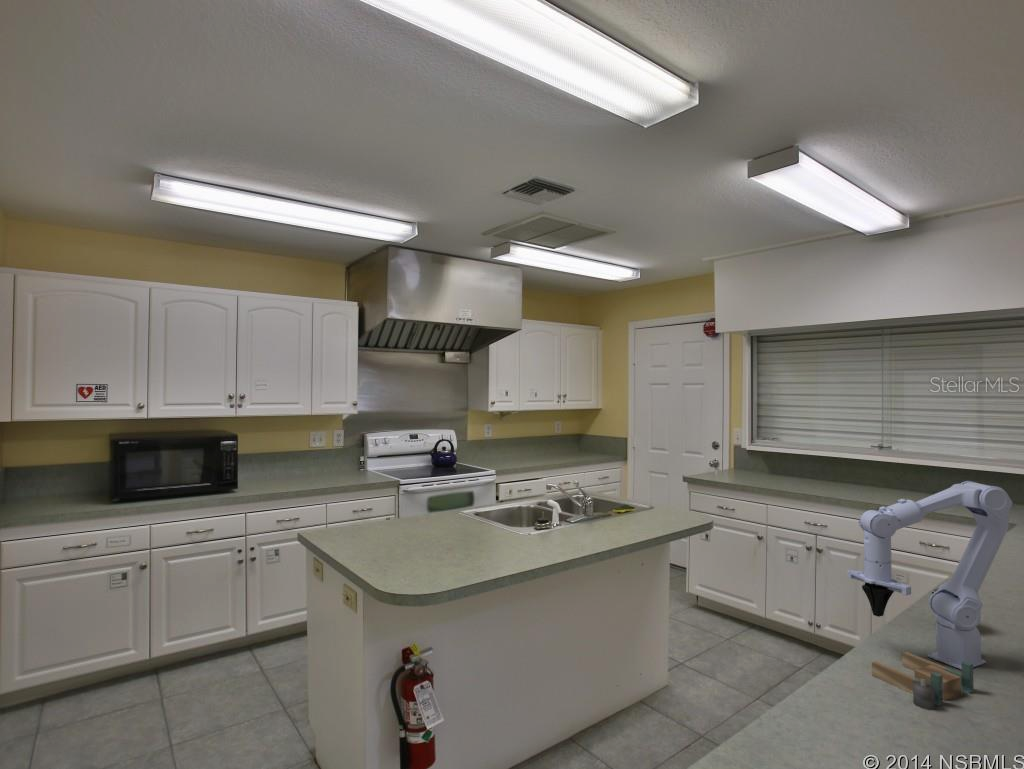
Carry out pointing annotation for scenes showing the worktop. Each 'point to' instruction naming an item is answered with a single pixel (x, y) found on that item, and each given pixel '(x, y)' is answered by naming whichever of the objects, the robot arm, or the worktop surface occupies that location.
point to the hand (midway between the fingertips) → (878, 615)
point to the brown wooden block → (949, 680)
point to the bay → (922, 680)
